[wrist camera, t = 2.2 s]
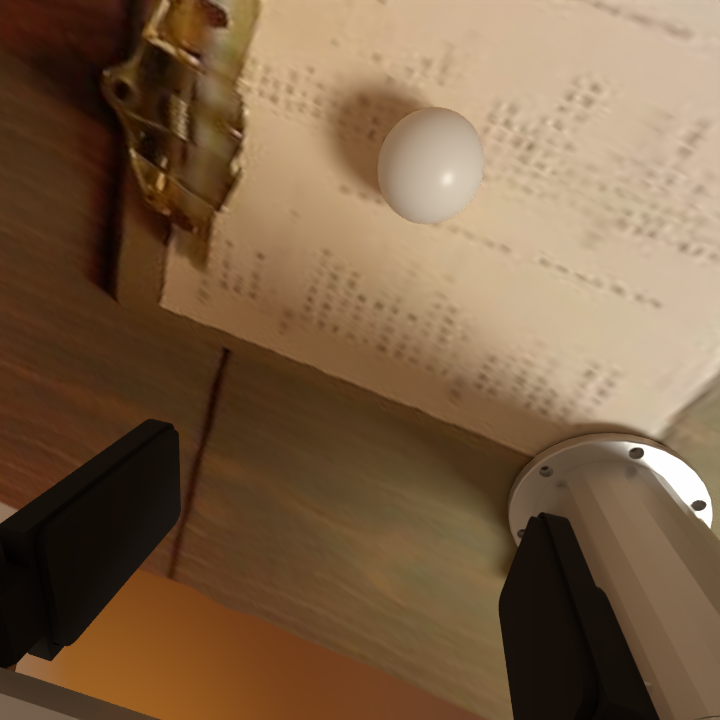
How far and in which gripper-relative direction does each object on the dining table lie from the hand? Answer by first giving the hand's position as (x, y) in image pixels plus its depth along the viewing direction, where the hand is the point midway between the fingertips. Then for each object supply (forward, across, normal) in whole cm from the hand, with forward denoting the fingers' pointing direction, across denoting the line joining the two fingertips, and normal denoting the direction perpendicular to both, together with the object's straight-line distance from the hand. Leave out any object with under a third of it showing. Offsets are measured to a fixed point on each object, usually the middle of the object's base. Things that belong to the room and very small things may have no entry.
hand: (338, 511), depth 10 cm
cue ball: (+16, 0, -9) cm, 18 cm away
